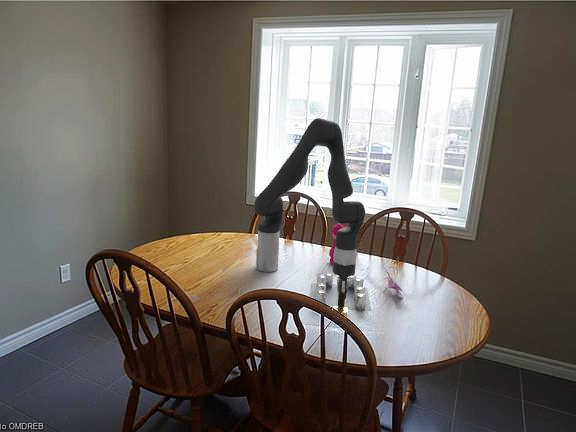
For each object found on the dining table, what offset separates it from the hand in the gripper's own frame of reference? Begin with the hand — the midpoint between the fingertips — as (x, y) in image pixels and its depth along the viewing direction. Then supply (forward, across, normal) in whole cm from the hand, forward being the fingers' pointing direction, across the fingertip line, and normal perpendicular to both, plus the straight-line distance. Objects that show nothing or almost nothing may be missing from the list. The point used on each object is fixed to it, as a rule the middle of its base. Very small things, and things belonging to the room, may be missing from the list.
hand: (340, 306), depth 141 cm
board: (+2, -5, 0) cm, 6 cm away
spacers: (+1, -11, 0) cm, 11 cm away
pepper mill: (+3, -49, -1) cm, 50 cm away
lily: (+3, -19, +20) cm, 28 cm away
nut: (+1, +4, 0) cm, 4 cm away
